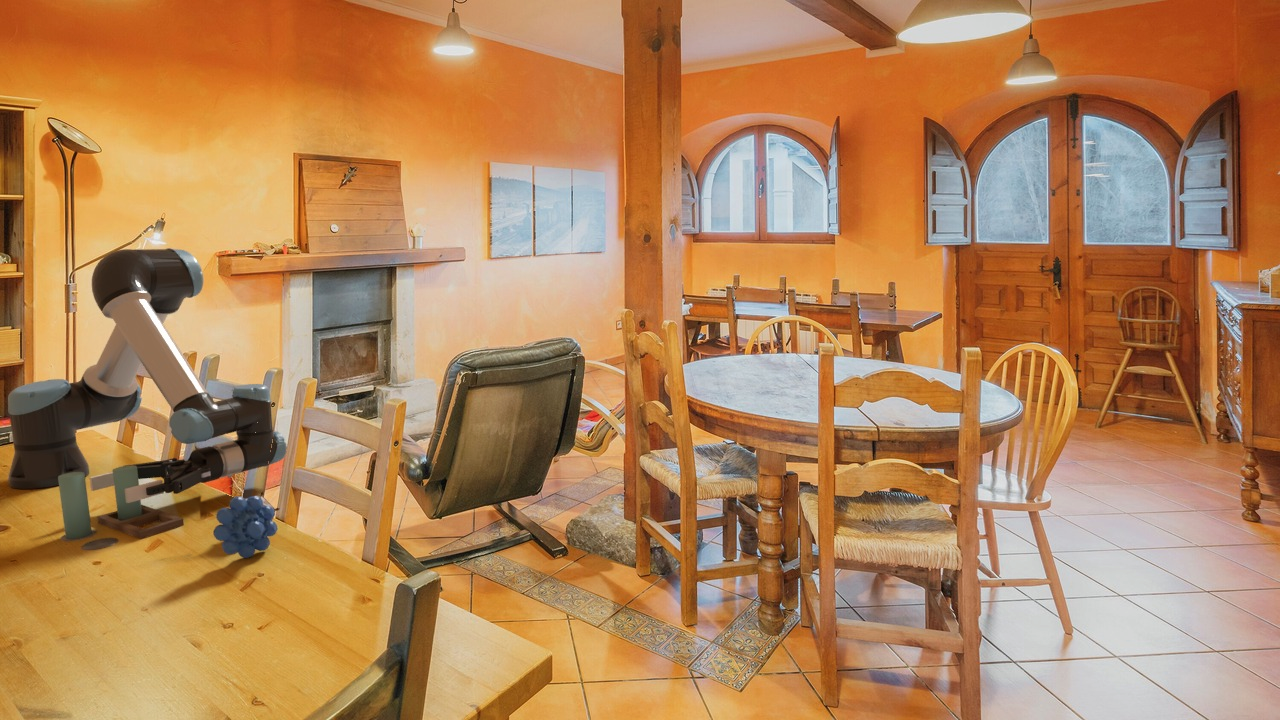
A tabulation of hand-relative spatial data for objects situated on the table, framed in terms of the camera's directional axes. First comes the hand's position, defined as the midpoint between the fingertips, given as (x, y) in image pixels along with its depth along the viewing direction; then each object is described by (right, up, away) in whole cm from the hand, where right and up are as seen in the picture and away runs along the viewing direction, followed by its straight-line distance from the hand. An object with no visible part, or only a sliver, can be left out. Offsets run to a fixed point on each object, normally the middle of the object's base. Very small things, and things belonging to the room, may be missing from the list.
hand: (108, 490), depth 145 cm
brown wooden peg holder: (+5, -8, +2) cm, 10 cm away
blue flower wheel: (+34, -11, -11) cm, 37 cm away
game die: (+29, -9, 0) cm, 30 cm away
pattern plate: (+1, -9, -5) cm, 11 cm away
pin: (-3, -8, -4) cm, 9 cm away
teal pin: (+2, -8, +4) cm, 9 cm away
